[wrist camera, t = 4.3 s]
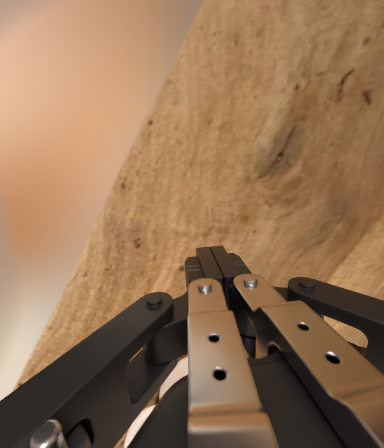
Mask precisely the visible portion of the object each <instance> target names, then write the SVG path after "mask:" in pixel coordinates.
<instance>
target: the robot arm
mask: <svg viewBox="0 0 384 448" xmlns="http://www.w3.org/2000/svg"><path fill="white" fill-rule="evenodd" d="M185 272H186V285H187V292H186V293H185V294H184V295H182V296H180V297H178V298H176V299H172V297H171V296H170V295H169V294H167V293H163V292H154V293H150V294H147V295H145V296H143V297H141V298H140V299H139V300H137V301H136V302H135V303H133V304H132V305H130V306H129V307H128V308H126V309H125V310H124V311H122V312H121V313H120V314H118V315H117V316H115V317H114V318H113V319H111V320H110V321H109V322H107V323H106V324H105V325H103V326H102V327H100V328H99V329H98V330H96V331H95V332H94V333H92V334H91V335H90V336H88V337H87V338H85V339H84V340H83V341H81V342H80V343H79V344H77V345H76V346H75V347H73V348H72V349H70V350H69V351H68V352H66V353H65V354H64V355H62V356H61V357H60V358H58V359H57V360H56V361H54V362H53V363H51V364H50V365H49V366H47V367H46V368H45V369H43V370H42V371H41V372H39V373H38V374H36V375H35V376H34V377H32V378H31V379H30V380H28V381H27V382H26V383H24V384H23V385H21V386H20V387H19V388H17V389H16V390H15V391H13V392H12V393H11V394H9V395H8V396H7V397H5V398H4V399H2V400H1V401H0V448H114V447H115V445H116V444H117V443H118V441H119V440H120V439H121V438H122V436H123V435H124V434H125V432H126V431H127V430H128V428H129V427H130V426H131V425H132V423H133V422H134V421H135V419H136V418H137V417H138V415H139V414H140V413H141V411H142V410H143V409H144V408H145V406H146V405H147V404H148V402H149V401H150V400H151V398H152V397H153V396H154V395H155V393H156V392H157V391H158V389H159V388H160V387H161V385H162V384H163V383H164V382H165V380H166V379H167V378H168V376H169V375H170V374H171V372H172V371H173V370H174V368H175V367H176V366H177V363H178V358H179V357H181V356H183V355H186V354H188V374H187V375H186V376H184V377H182V378H181V379H179V380H178V381H176V382H175V383H174V384H173V385H172V386H171V387H170V388H169V389H168V390H167V391H166V392H165V393H164V394H163V396H162V397H161V398H160V400H159V401H158V403H157V404H156V406H155V407H154V409H153V410H152V411H151V413H150V414H149V416H148V417H147V419H146V420H145V422H144V423H143V425H142V426H141V428H140V429H139V430H138V432H137V433H136V435H135V436H134V438H133V439H132V441H131V442H130V444H129V445H128V447H127V448H384V301H383V300H380V299H376V298H373V297H370V296H367V295H363V294H360V293H357V292H354V291H350V290H347V289H344V288H341V287H337V286H334V285H331V284H328V283H324V282H321V281H318V280H315V279H311V278H306V277H296V278H292V279H290V280H289V282H288V288H282V287H272V286H271V285H270V284H269V283H268V282H267V281H266V280H265V279H264V278H263V277H261V276H259V275H255V274H252V273H251V272H250V270H249V269H248V268H247V266H246V265H245V264H244V262H243V261H242V259H241V258H240V257H239V256H238V255H236V254H234V253H227V252H226V250H225V249H224V247H223V246H212V247H202V248H196V257H188V258H187V259H186V261H185ZM324 315H325V316H327V317H330V318H332V319H335V320H337V321H340V322H342V323H345V324H347V325H350V326H352V327H355V328H357V329H359V330H360V331H362V332H363V333H364V334H365V335H366V337H367V339H368V346H367V348H363V347H359V346H357V345H355V344H353V343H350V342H348V341H346V340H345V339H344V338H343V337H342V336H341V335H340V334H338V333H337V332H336V331H335V330H334V329H333V328H332V327H331V326H330V325H329V324H327V323H326V322H325V321H324ZM142 347H143V349H142V350H141V351H140V352H139V353H138V354H137V355H136V356H135V357H134V358H133V359H132V360H131V358H132V357H133V356H134V355H135V354H136V353H137V352H138V351H139V350H140V349H141V348H142ZM130 360H131V361H130ZM129 361H130V362H129Z"/></svg>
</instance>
